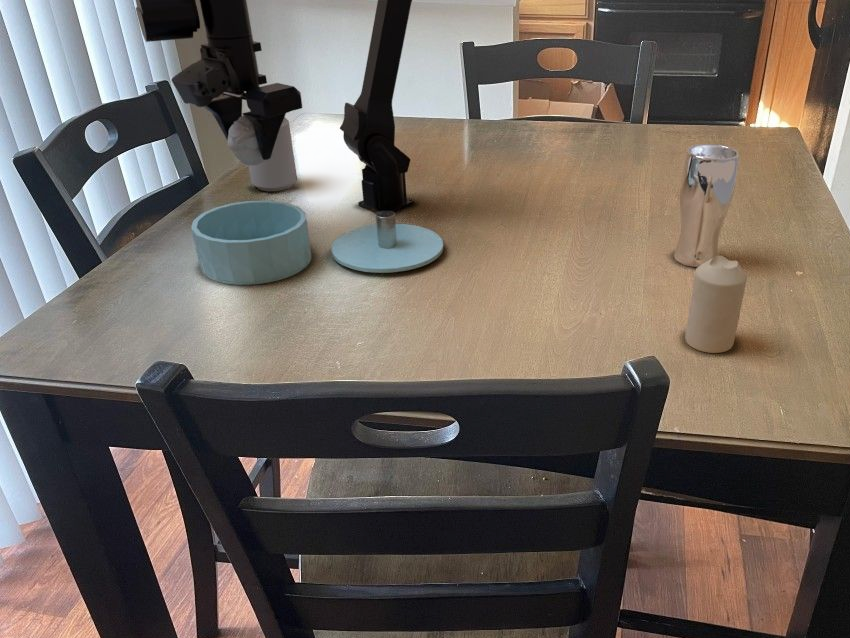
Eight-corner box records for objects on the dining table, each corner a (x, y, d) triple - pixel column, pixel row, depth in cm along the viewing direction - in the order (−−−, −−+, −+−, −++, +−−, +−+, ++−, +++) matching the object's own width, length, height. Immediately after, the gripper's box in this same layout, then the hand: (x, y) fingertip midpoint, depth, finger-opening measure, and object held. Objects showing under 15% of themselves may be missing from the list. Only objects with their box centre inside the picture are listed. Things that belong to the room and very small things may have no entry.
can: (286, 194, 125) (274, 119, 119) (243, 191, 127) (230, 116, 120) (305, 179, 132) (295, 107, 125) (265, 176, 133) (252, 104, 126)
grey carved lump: (239, 175, 105) (228, 124, 101) (226, 161, 110) (216, 112, 106) (282, 168, 108) (273, 117, 104) (268, 154, 113) (260, 106, 109)
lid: (387, 223, 116) (384, 186, 113) (465, 248, 109) (465, 210, 105) (308, 256, 106) (303, 217, 103) (389, 287, 98) (386, 246, 95)
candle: (679, 330, 90) (691, 251, 85) (724, 328, 91) (739, 250, 85) (692, 354, 86) (705, 273, 80) (740, 352, 86) (757, 271, 80)
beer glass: (724, 252, 109) (743, 146, 100) (718, 272, 103) (738, 162, 95) (675, 245, 111) (689, 140, 102) (666, 264, 105) (681, 156, 97)
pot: (265, 231, 113) (258, 192, 109) (334, 257, 106) (328, 216, 102) (178, 264, 103) (168, 223, 100) (247, 295, 96) (239, 252, 93)
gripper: (131, 36, 99) (161, 156, 107) (221, 54, 90) (246, 184, 98) (205, 24, 106) (228, 137, 115) (295, 40, 97) (312, 162, 106)
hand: (251, 154), depth 108 cm, fingers closed on grey carved lump, 6 cm apart
